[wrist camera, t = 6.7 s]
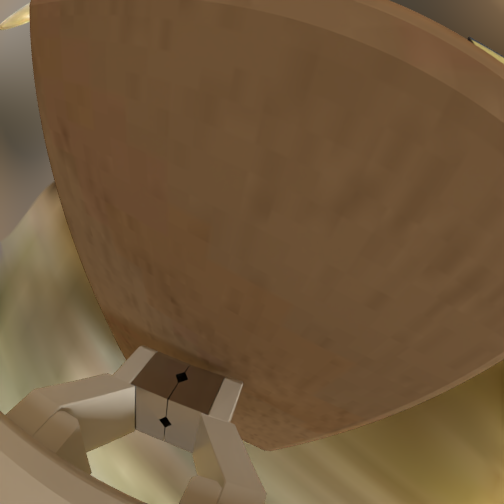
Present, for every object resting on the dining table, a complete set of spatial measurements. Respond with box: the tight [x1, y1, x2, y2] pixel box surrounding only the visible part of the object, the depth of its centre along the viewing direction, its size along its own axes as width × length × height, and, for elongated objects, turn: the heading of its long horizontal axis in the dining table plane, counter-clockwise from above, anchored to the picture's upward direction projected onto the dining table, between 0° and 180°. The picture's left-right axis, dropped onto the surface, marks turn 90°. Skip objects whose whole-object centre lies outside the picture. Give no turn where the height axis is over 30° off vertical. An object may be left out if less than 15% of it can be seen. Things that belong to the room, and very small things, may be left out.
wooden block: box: [30, 0, 504, 451], centre depth 13 cm, size 10×10×20 cm
